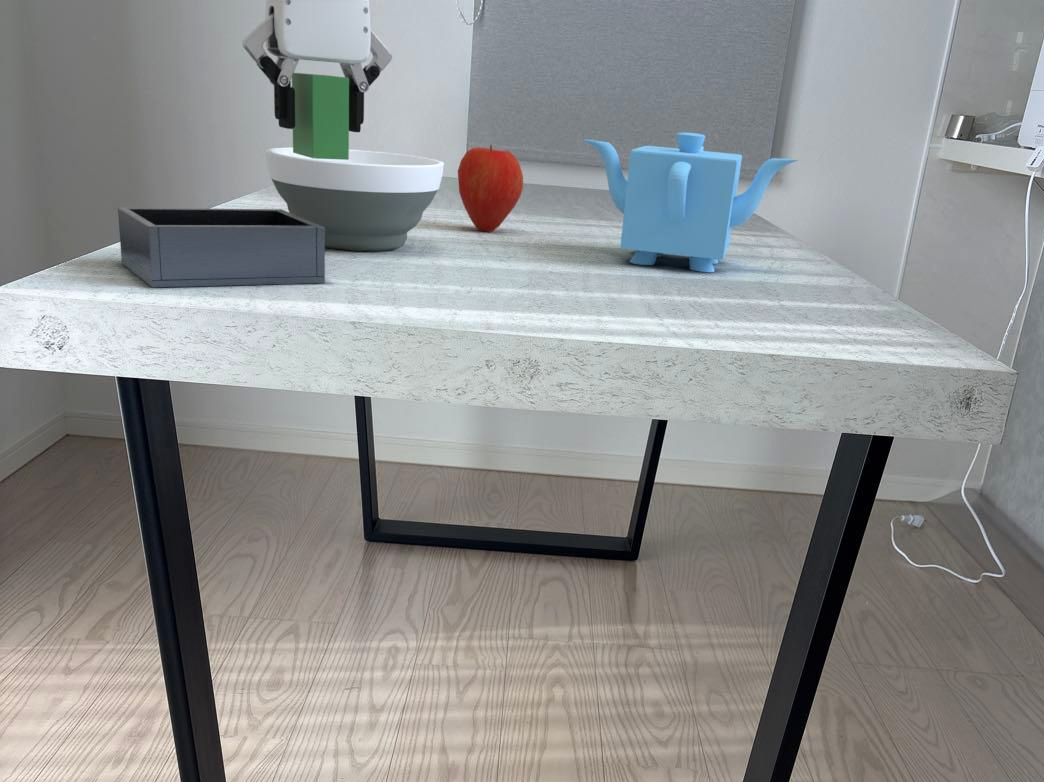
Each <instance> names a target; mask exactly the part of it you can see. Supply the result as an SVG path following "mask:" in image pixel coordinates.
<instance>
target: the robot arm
mask: <svg viewBox="0 0 1044 782" xmlns="http://www.w3.org/2000/svg"><path fill="white" fill-rule="evenodd" d="M264 13H265V14H264V15H265V16H264V17H265V18H264V20H263V21H262V22H261V23H260V24H258V25H257V26H256V27H255V28H254V29H253V30H252V31H251V32H250V33H249V34H248V35H247V36H246V37H245V38H244V39H243V40H242V42H241V44H242V45H241V46H242V47H243V49H244V50H245V51H246V53H247V54H248V55H249V56H250V58H251V59H252V60H253V61H254V63H256V65H257V67H258V68H259V70H260V71H262V73H263V74H264V75H265V76H266V77H267V79H268V80H269V82H270V84H271V85H273V97H274V102H273V103H274V105H273V107H274V109H273V110H274V117H275V119H276V120H278V126H279V128H282V129H287V130H293V128H295V90H294V89H293V87H292V75H293V73H295V70H296V68H297V66H298V63H299V61H300V60H301V61H314V62H323V63H337V64H339V66H340V69H341V71H342V73H343V77H346V78H349V132H352V133H360V132H361V128H362V127H361V126H362V125H363V124H364V120H365V93H367V92H368V91H369V88H370V86H371V85H372V84H373V83H374V82H375V81H376V80H377V79H378V78H379V76H380V74H381V72H383V71H384V70H385V69H386V67H387V66H388V65H389V64H390V63H391V61H392V59H393V54H392V53H391V52H390V51H389V49H388V48H387V47H386V45H385V44H384V43H383V42H382V41H381V39H380V38H379V37H378V35H376V33H374V31H373V29H372V28H371V27H372V26H371V10H370V0H265V12H264ZM264 44H265V49H266V50H267V52H268V53H270V54H271V55H272V56H275V57H276V60H275V61H274V60H273V58H272V57H270V56H269V55H268V54H267V52H266V51H265V49H264ZM371 54H372V58H371V60H370V61H369V63H368V64H366V65H365V66H364V67H363V66H362V64H364V63H365V62H367V61H368V60H369V59H370V55H371Z"/></svg>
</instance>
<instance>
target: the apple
mask: <svg viewBox="0 0 1044 782" xmlns="http://www.w3.org/2000/svg"><path fill="white" fill-rule="evenodd" d="M457 179H458V180H457V181H458V193H459V197H460V198H461V199H460V200H461V202H462V204H463V206H464V209H465V211H466V213H467V215H468V218H469V219H470V221H471V222H472V224H473V226H474V227H475V228H476V229H477V230H478V231H479V232H488V233H490V232H493V231H495V230H496V229H498V228H499V227H500V226H501V225H502V223H503V222H504V221H505V220H506V219H507V217H508V216H509V215H510V213H511V212H512V211H513V210H514V208H515V206H516V205H517V204H518V202H519V200H520V198H521V195H522V193H523V189H524V174H523V171H522V168H521V164H520V162H519V161H518V158H517V157H516V155H514V154H513V153H512V152H511V151H509V150H497V149H493V145H492V144H490V145H489V148H486V147H472V148H471V149H469V150H468V151H466V152H465V153H464V155H463V157H462V158H461V160H460V162H459V166H458V169H457Z"/></svg>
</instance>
